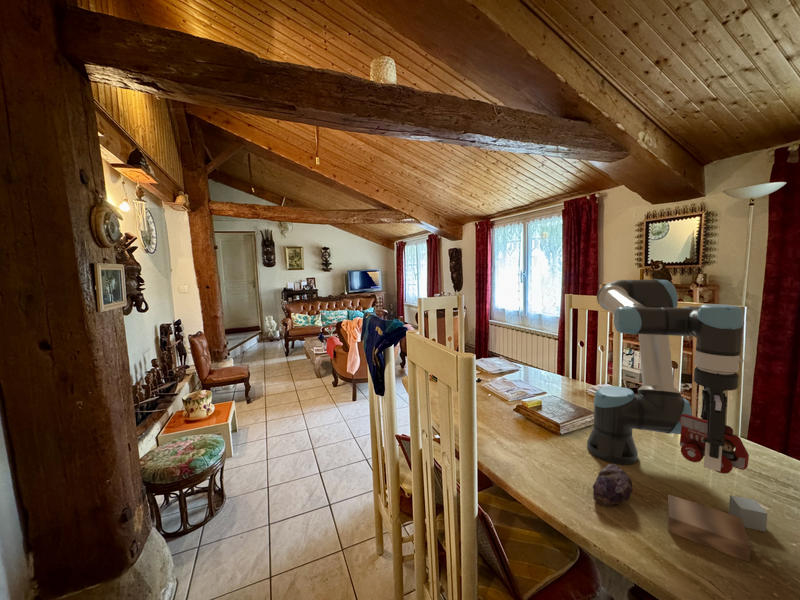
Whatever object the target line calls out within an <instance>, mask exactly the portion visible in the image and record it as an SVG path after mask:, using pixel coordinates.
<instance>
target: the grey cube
mask: <svg viewBox="0 0 800 600" xmlns="http://www.w3.org/2000/svg"><path fill="white" fill-rule="evenodd" d="M728 514H731V515H734V516H737V517H740V518H742V521H743V525H744V528H747V529H751V530H752V529H753V530H756V531H762V532H765V533H766V532H767V523H768V522H767V520H768V512H767V511H766V510H765V509H764V508H763V507H762V506H761V505H760V504H759V502H758V501H757V500H756V499H751V498H746V497H741V496H738V495H737V496H736V495H731V494H729V502H728Z"/></svg>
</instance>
